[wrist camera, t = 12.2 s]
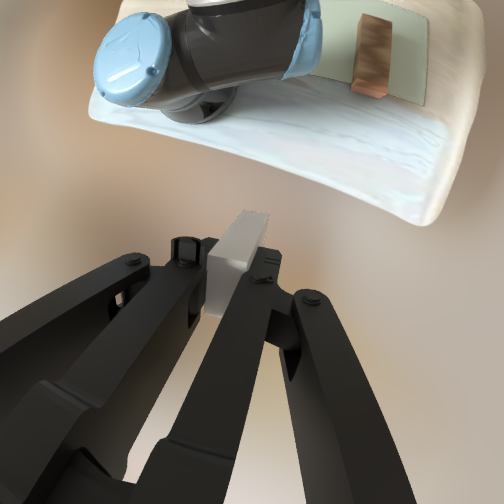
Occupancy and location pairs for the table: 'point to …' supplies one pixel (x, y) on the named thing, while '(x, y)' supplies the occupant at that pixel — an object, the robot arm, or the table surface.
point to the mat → (402, 50)
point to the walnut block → (372, 56)
